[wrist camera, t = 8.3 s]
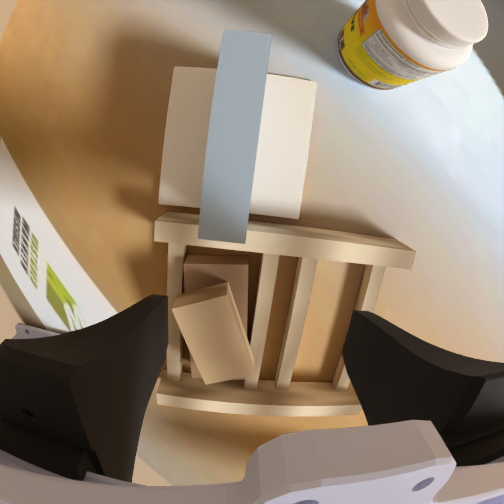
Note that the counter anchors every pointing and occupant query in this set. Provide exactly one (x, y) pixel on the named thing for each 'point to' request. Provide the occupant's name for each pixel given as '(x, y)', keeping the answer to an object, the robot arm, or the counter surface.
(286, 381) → the rack
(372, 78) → the supplement bottle
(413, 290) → the counter surface
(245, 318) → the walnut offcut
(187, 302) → the oak offcut
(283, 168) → the pad
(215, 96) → the slate blue box
